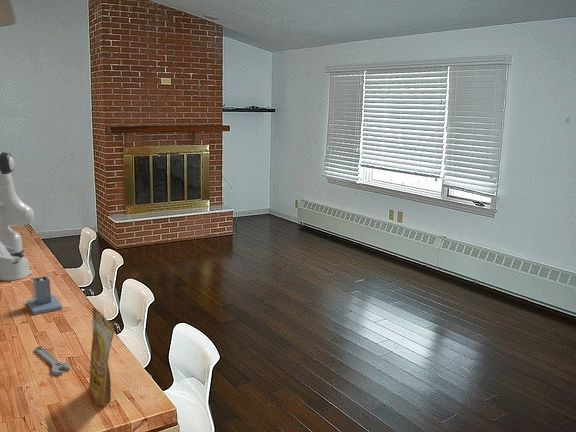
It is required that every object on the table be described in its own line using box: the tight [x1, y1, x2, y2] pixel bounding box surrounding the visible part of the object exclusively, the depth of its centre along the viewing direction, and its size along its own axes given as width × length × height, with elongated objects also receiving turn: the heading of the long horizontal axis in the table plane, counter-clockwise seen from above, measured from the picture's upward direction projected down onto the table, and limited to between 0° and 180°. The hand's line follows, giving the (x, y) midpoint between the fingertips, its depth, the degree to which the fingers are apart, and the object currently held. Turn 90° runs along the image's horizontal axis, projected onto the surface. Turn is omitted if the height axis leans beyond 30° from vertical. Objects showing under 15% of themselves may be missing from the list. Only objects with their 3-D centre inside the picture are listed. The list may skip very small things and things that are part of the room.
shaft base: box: [26, 279, 63, 316], centre depth 250 cm, size 16×12×12 cm
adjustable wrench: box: [34, 346, 71, 376], centre depth 202 cm, size 25×6×2 cm, turn 40°
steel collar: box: [32, 276, 52, 305], centre depth 252 cm, size 6×6×11 cm
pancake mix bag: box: [88, 307, 115, 408], centre depth 178 cm, size 7×19×28 cm, turn 30°
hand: (16, 254), depth 249 cm, fingers open, 8 cm apart
